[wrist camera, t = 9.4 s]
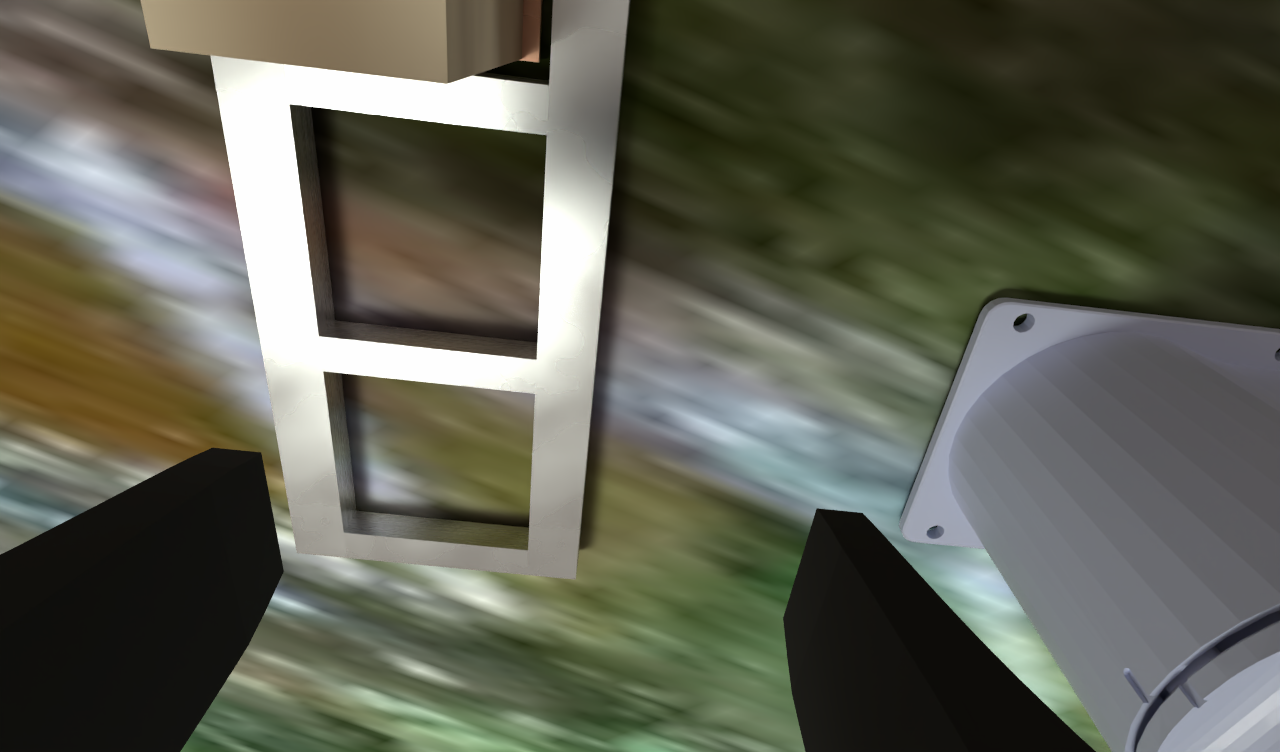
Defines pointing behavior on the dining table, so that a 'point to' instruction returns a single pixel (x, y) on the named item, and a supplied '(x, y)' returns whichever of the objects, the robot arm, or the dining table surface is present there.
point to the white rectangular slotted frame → (324, 348)
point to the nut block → (347, 34)
